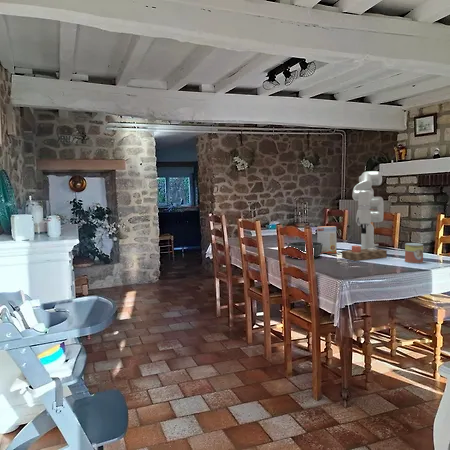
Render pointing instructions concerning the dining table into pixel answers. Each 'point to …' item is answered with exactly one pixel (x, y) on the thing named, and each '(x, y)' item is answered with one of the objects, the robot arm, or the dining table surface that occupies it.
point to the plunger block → (364, 254)
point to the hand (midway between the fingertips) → (363, 233)
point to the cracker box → (327, 238)
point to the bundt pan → (301, 246)
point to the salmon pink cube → (356, 248)
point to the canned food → (414, 253)
